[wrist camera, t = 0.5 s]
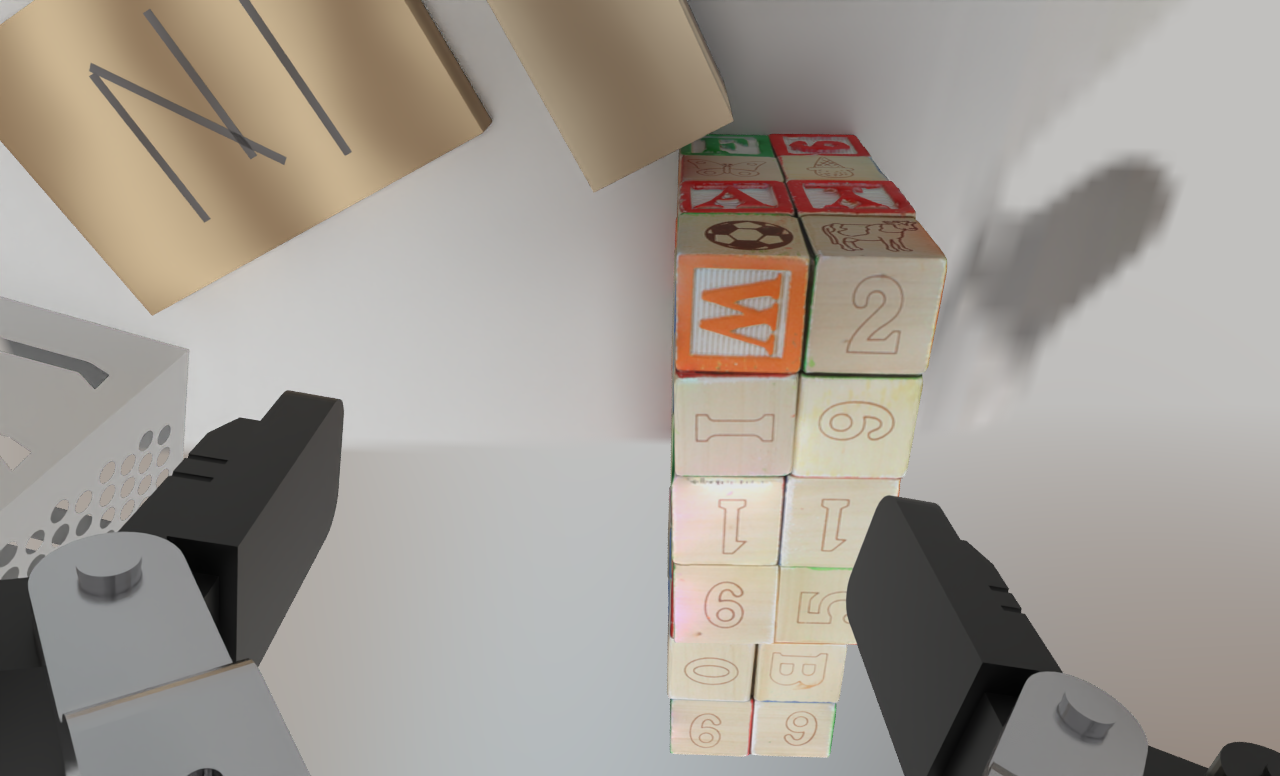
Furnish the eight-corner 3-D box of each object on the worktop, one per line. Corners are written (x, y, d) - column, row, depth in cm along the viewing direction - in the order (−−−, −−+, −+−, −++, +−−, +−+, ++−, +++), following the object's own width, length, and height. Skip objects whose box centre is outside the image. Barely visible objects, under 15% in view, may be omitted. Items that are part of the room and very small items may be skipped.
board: (313, -181, 26) (292, -186, 24) (492, 121, 30) (483, 132, 29) (-27, 61, 30) (-62, 69, 28) (173, 298, 34) (151, 316, 33)
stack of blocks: (799, 590, 40) (842, 838, 30) (666, 586, 41) (662, 832, 30) (856, 128, 30) (956, 258, 19) (676, 127, 30) (676, 254, 19)
